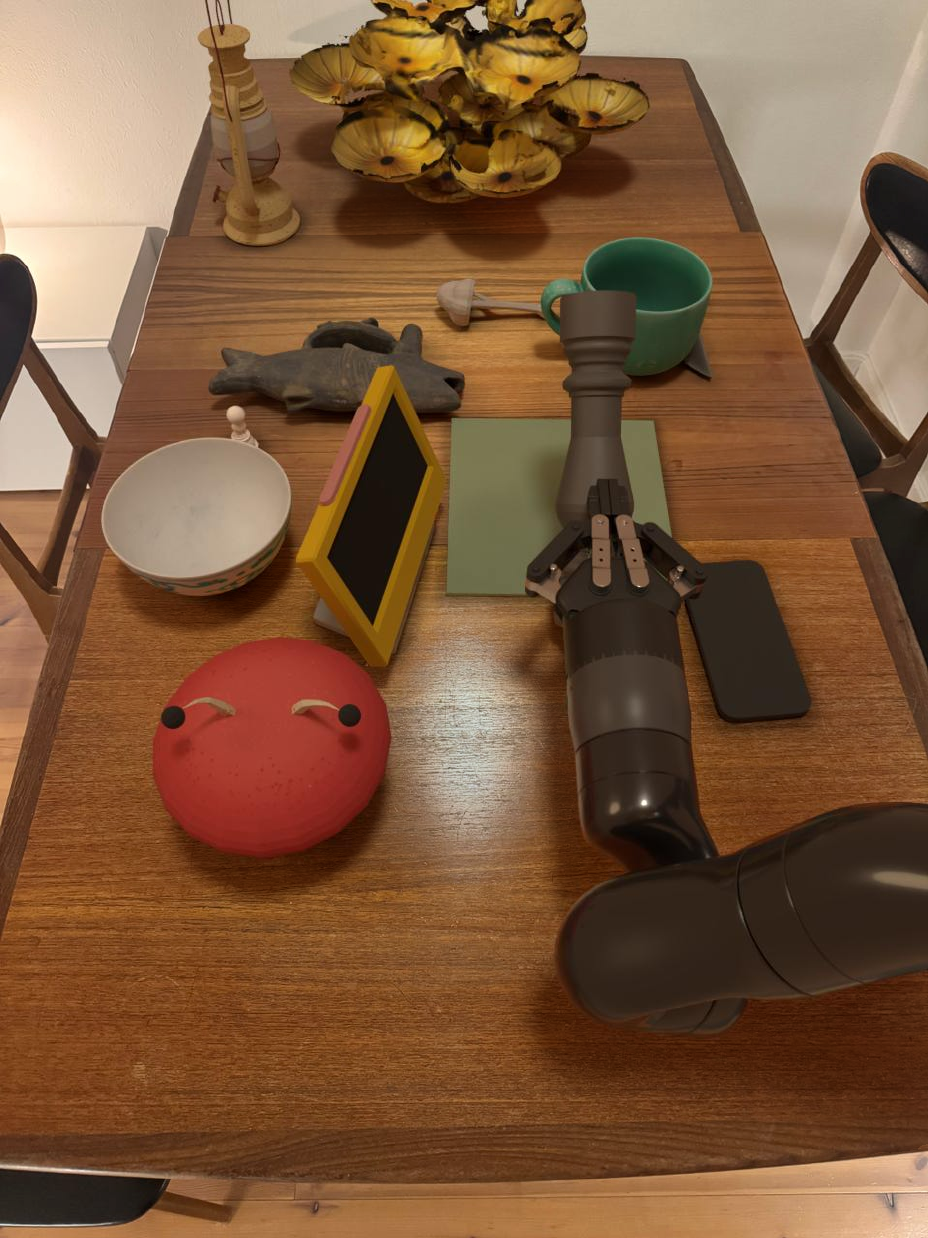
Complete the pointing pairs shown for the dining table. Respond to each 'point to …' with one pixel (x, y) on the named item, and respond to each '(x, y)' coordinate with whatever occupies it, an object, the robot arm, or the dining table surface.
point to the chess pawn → (239, 426)
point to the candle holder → (594, 400)
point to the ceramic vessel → (341, 370)
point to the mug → (646, 297)
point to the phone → (746, 645)
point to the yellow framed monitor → (374, 522)
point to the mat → (525, 496)
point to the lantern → (245, 141)
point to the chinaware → (199, 515)
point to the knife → (698, 358)
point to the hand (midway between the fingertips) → (605, 486)
